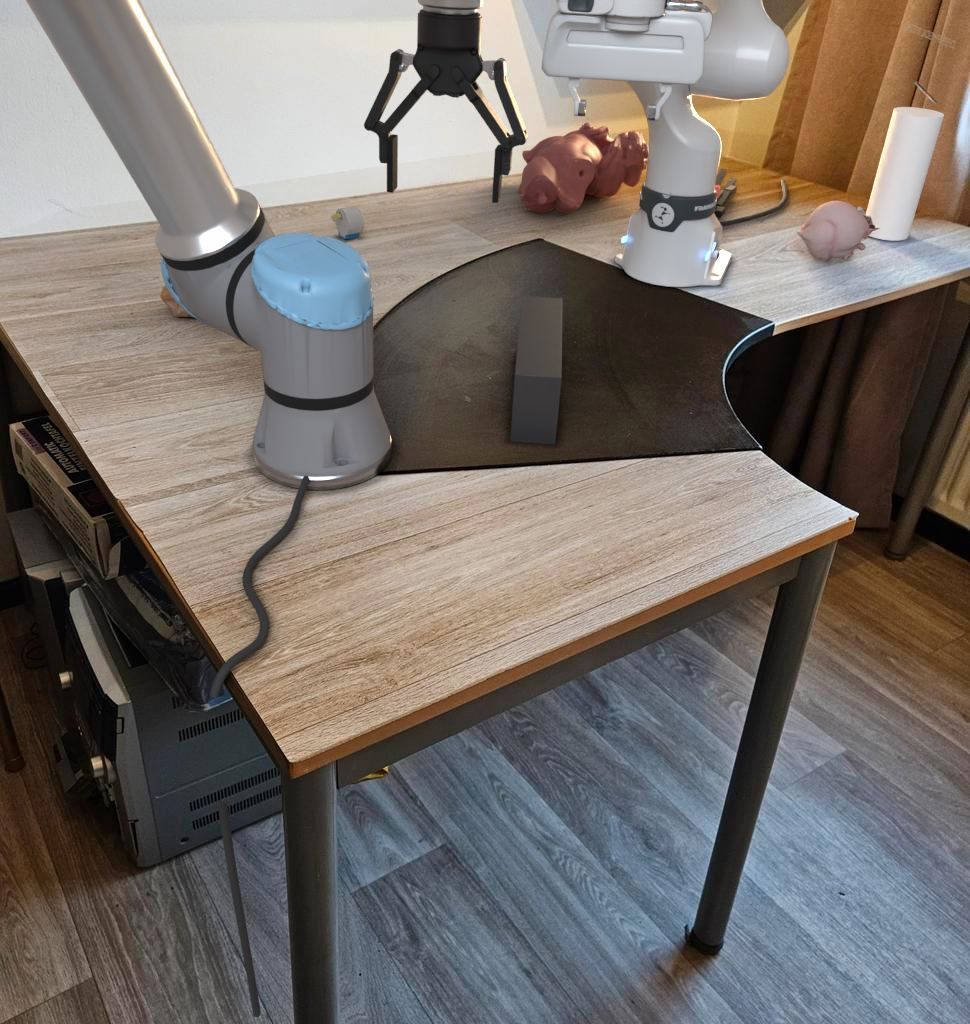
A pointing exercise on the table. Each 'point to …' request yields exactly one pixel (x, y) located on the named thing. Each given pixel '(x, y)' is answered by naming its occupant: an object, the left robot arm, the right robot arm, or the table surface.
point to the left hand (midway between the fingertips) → (443, 195)
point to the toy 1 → (724, 192)
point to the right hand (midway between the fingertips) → (615, 117)
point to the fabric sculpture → (580, 168)
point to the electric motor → (349, 222)
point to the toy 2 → (836, 230)
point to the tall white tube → (903, 167)
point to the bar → (538, 371)
